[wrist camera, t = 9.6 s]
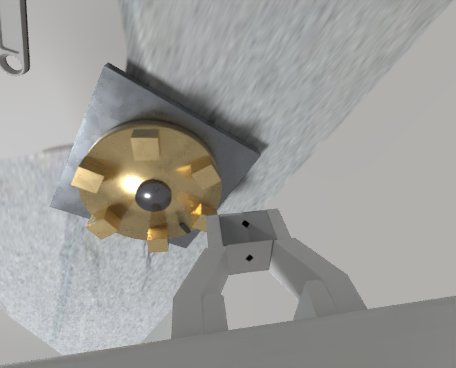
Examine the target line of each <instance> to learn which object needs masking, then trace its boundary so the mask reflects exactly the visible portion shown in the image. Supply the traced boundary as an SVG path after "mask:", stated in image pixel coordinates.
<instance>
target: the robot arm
mask: <svg viewBox="0 0 456 368" xmlns="http://www.w3.org/2000/svg"><path fill="white" fill-rule="evenodd" d="M206 227H207V238H208V248H205V249H204V250H203V252H202V254H201V255H200V257H199V258H198V260H197V261H196V263H195V265H194V266H193V268H192V269H191V271H190V272H189V274H188V276H187V277H186V279H185V280H184V282H183V283H182V285H181V287H180V288H179V290H178V291H177V293H176V294H175V296H174V298H173V314H172V335H171V339H169V340H162V341H157V342H149V343H143V344H136V345H130V346H123V347H117V348H110V349H104V350H97V351H91V352H84V353H77V354H71V355H64V356H58V357H51V358H45V359H39V360H32V361H25V362H19V363H12V364H5V365H0V368H456V296H451V297H444V298H438V299H431V300H425V301H419V302H412V303H405V304H399V305H392V306H386V307H379V308H373V309H367V308H366V306H365V304H364V303H363V301H362V299H361V297H360V296H359V294H358V292H357V291H356V289H355V287H354V285H353V284H352V282H351V280H350V279H349V277H348V275H347V274H346V273H344V272H343V271H341V270H340V269H338V268H337V267H335V266H334V265H333V264H331V263H330V262H328V261H327V260H326V259H324V258H323V257H321V256H320V255H318V254H317V253H316V252H314V251H313V250H311V249H310V248H308V247H307V246H306V245H304V244H303V243H302V242H300V241H299V240H297V239H296V238H291V236H290V234H289V232H288V229H287V227H286V225H285V223H284V221H283V218H282V216H281V214H280V212H279V210H278V209H269V210H260V211H252V212H243V213H232V214H220V215H210V216H206ZM264 270H269V271H270V273H271V274H273V275H274V277H275V278H276V279H277V280H278V281H279V282H280V283H281V284H282V285H283V286H284V287H285V288H286V289H287V290H288V291H289V292H290V293H291V294H292V295H293V296H294V297H295V298H296V299H297V300H298V302H299V304H298V307H297V310H296V313H295V316H294V320H293V321H287V322H280V323H274V324H267V325H261V326H254V327H248V328H241V329H234V330H228V326H227V319H226V311H225V304H224V297H223V296H222V295H221V292H222V289H223V287H224V285H225V282H226V280H227V278H228V275H233V274H239V273H246V272H253V271H264Z"/></svg>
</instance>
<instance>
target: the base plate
mask: <svg viewBox="0 0 456 368" xmlns="http://www.w3.org/2000/svg"><path fill="white" fill-rule="evenodd" d="M142 120H153V121H162V122H167V123H171V124H174V125H177V126H180V127H182V128H184V129H186V130H188V131H190V132H191V133H193V134H194V135H196V136H197V137H198V138H199V139H201V140H202V141H203V142H204V143H205V144H206V145H207V146H208V148H209V149H210V151H211V152H212V154H213V156H214V158H215V159H216V162H217V165H218V169H219V172H220V176H221V180H222V181H221V183H222V192H221V198H220V201H219V204H218V206H217V208H216V210H217V209H218V208H219V207H220V205H221V204H222V203H223V202H224V200H225V199H226V198H227V197H228V195H229V194H230V193H231V191H232V190H233V189H234V188H235V186H236V185H237V184H238V183H239V181H240V180H241V179H242V178H243V176H244V175H245V174H246V173H247V171H248V170H249V169H250V168H251V166H252V165H253V164H254V163H255V161H256V160H257V159H258V158H259V156H260V154H259V152H258V150H257V149H256V148H254V147H252V146H251V145H249V144H247V143H245V142H244V141H242V140H240V139H239V138H237V137H235V136H233V135H232V134H230V133H228V132H227V131H225V130H223V129H221V128H220V127H218V126H216V125H215V124H213V123H211V122H209V121H208V120H206V119H204V118H203V117H201V116H199V115H197V114H196V113H194V112H192V111H191V110H189V109H187V108H185V107H184V106H182V105H180V104H179V103H177V102H175V101H173V100H172V99H170V98H168V97H167V96H165V95H163V94H161V93H160V92H158V91H156V90H155V89H153V88H151V87H149V86H148V85H146V84H144V83H143V82H141V81H139V80H137V79H136V78H134V77H132V76H131V75H129V74H127V73H125V72H124V71H122V70H120V69H119V68H117V67H115V66H113V65H112V64H110V63H107V64H106V65H105V66H104V68H103V70H102V73H101V75H100V78H99V80H98V83H97V86H96V88H95V91H94V93H93V96H92V99H91V101H90V104H89V106H88V109H87V112H86V114H85V117H84V119H83V122H82V124H81V127H80V130H79V132H78V135H77V137H76V140H75V142H74V145H73V148H72V150H71V153H70V155H69V158H68V161H67V163H66V166H65V168H64V171H63V173H62V176H61V179H60V181H59V184H58V186H57V189H56V192H55V194H54V197H53V199H52V202H51V204H50V207H52V208H56V209H59V210H62V211H66V212H69V213H72V214H75V215H79V216H82V217H85V218H89V219H90V217H91V214H90V213H89V211H88V210H87V209H86V207H85V206H84V204H83V202H82V200H81V197H80V194H79V190H78V187H76V186H73V185H71V183H72V180H73V178H74V176H75V173H76V171H77V168H78V166H79V165H80V163H81V161H82V160H83V158H84V157H86V155H87V154H88V152H89V150H90V149H91V147H92V146H93V145H94V143H95V142H96V141H97V140H98V139H99V138H100V137H101V136H102V135H103V134H105V133H106V132H108V131H109V130H111V129H113V128H115V127H117V126H119V125H122V124H125V123H128V122H134V121H142ZM199 232H200V230H199V229H196V230H194V231H192V232H190V233H188V234H185V235H183V236H180V237H176V238H172V239H169V243H171V244H174V245H177V246H181V247H184V248H187V247H188V245H189V244H190V243H191V242H192V240H193V239H194V238H195V237H196V235H197V234H198V233H199Z"/></svg>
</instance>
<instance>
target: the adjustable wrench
mask: <svg viewBox="0 0 456 368" xmlns="http://www.w3.org/2000/svg"><path fill="white" fill-rule="evenodd" d="M8 55H14V56H15V57H16V58H17V59H18V60H19V61H20V62H21V64H22V69H21V70H18V71H16V70H14V69H12V68H11V67H10V66H9V65H8V63H7V61H6V57H7V56H8ZM0 68H1V69H2V70H3V71H4V72H6V73H7V74H9V75H11V76H20V75H22V74H25V73H26V72H28V71H29V69H30V55H29V38H28V21H27V5H26V0H0Z"/></svg>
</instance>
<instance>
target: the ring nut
mask: <svg viewBox="0 0 456 368" xmlns="http://www.w3.org/2000/svg"><path fill="white" fill-rule="evenodd" d="M221 181H222V180H221V176H220V172H219V169H218V165H217V162H216V159H215V158H214V156H213V154H212V152H211V151H210V149H209V148H208V146H207V145H206V144H205V143H204V142H203V141H202V140H201V139H199V138H198V137H197V136H196V135H194V134H193V133H191V132H190V131H188V130H186V129H184V128H182V127H180V126H177V125H174V124H171V123H167V122H162V121H153V120H142V121H134V122H128V123H125V124H122V125H119V126H117V127H115V128H113V129H111V130H109V131H108V132H106V133H105V134H103V135H102V136H101V137H100V138H99V139H98V140H97V141H96V142H95V143H94V145H93V146H92V147H91V149H90V150H89V152H88V154H87V155H86V157H84V158H83V160H82V161H81V163H80V165H79V166H78V168H77V171H76V173H75V176H74V178H73V180H72V183H71V185H73V186H76V187H78V190H79V194H80V197H81V200H82V202H83V204H84V206H85V207H86V209H87V210H88V211H89V213H90V214H91V217H90V219H89V221H88V224H87V226H86V228H87V229H88V230H90V231H91V232H92V233H93V234H95V235H96V236H97V237H99V238H100V239H101V240H102V239H104V238H106V237H108V236H110V235H112V234H114V233H118V234H121V235H124V236H127V237H131V238H135V239H141V240H147V243H148V249H149V253H152V252H166V251H168V247H169V239H172V238H176V237H180V236H183V235H185V234H188V233H190V232H192V231H194V230H196V229H199V230H202V231H204V232H207V227H206V216H210V215H218V214H217V210H216V208H217V206H218V204H219V201H220V198H221V192H222V183H221Z"/></svg>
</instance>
